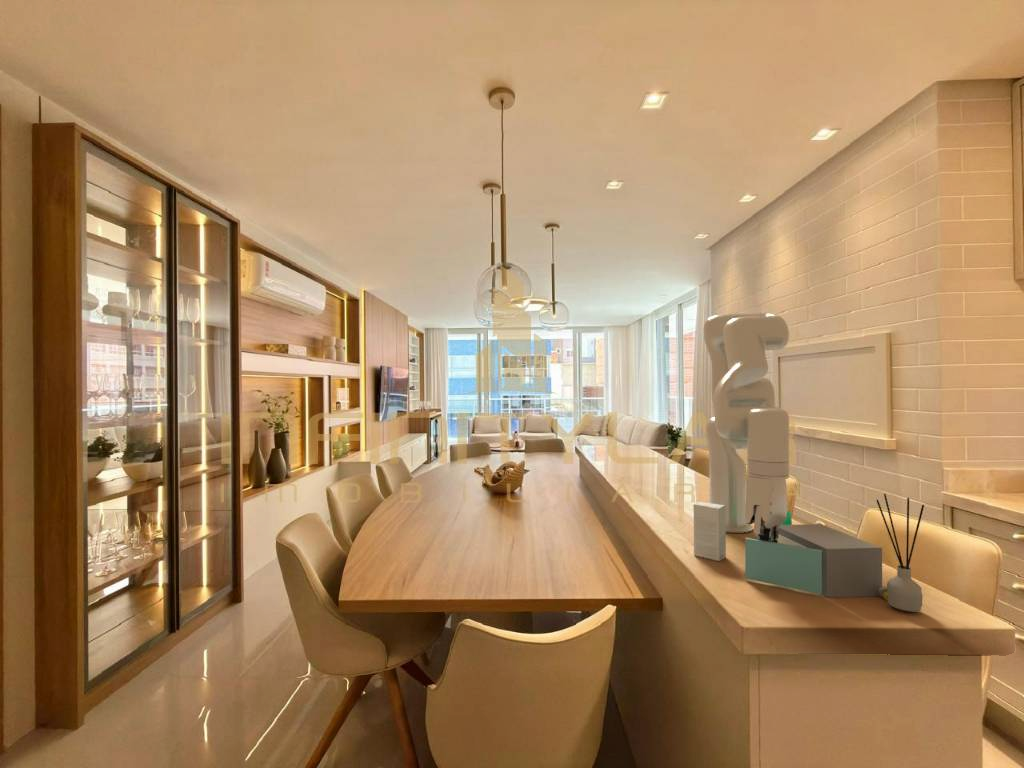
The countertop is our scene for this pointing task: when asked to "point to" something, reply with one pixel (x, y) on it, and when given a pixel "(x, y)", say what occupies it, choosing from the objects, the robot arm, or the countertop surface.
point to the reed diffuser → (902, 574)
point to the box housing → (839, 559)
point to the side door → (784, 565)
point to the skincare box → (709, 531)
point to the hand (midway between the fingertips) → (767, 558)
